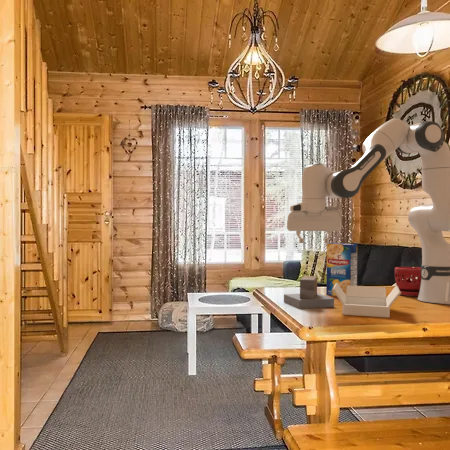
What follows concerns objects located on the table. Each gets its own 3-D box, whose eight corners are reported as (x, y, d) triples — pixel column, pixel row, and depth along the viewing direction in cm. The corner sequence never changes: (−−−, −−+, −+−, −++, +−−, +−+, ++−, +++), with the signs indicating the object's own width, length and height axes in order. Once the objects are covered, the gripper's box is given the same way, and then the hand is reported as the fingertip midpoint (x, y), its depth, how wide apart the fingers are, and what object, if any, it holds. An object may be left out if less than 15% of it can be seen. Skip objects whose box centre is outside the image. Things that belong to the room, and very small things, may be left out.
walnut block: (304, 293, 185) (304, 276, 185) (317, 294, 183) (317, 276, 183) (299, 298, 173) (300, 279, 173) (313, 299, 172) (313, 280, 172)
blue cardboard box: (350, 297, 195) (351, 244, 195) (326, 294, 202) (326, 243, 202) (357, 295, 201) (357, 244, 200) (333, 292, 208) (333, 243, 207)
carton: (336, 303, 181) (336, 281, 181) (396, 307, 174) (397, 284, 174) (332, 313, 160) (332, 288, 160) (400, 318, 154) (401, 292, 154)
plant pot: (433, 296, 200) (434, 268, 200) (409, 298, 195) (409, 269, 195) (411, 292, 212) (411, 265, 212) (387, 293, 208) (388, 266, 207)
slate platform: (316, 300, 187) (316, 293, 187) (333, 306, 174) (334, 298, 174) (283, 301, 183) (283, 294, 183) (299, 308, 170) (299, 300, 170)
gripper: (342, 206, 178) (342, 243, 178) (288, 207, 184) (289, 242, 184) (341, 206, 172) (341, 243, 172) (286, 206, 178) (286, 243, 178)
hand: (314, 243), depth 178 cm, fingers open, 8 cm apart
